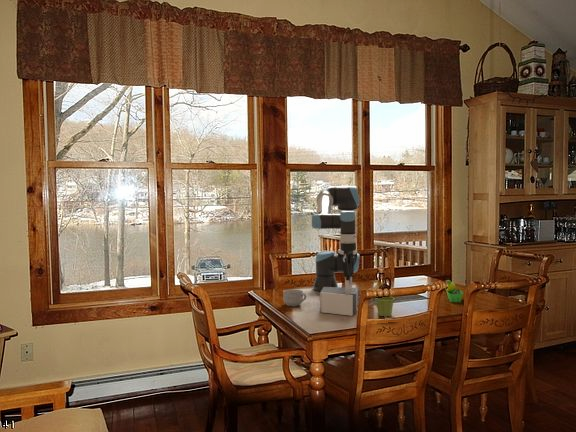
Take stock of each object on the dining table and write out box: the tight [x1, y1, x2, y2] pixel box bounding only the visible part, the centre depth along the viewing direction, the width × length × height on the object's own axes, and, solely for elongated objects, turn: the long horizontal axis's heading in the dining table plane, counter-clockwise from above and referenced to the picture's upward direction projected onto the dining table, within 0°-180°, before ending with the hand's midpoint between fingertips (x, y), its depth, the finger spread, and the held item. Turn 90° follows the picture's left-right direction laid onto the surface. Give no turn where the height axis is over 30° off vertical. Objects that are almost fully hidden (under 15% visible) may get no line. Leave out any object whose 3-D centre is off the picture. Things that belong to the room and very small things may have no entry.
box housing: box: [320, 286, 359, 315], centre depth 239 cm, size 14×18×10 cm
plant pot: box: [374, 296, 395, 318], centre depth 226 cm, size 9×9×9 cm
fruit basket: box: [445, 279, 464, 303], centre depth 255 cm, size 11×9×11 cm
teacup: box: [282, 289, 307, 307], centre depth 248 cm, size 14×11×8 cm
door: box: [319, 279, 354, 317], centre depth 229 cm, size 2×17×17 cm, turn 63°
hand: (349, 289), depth 229 cm, fingers closed
